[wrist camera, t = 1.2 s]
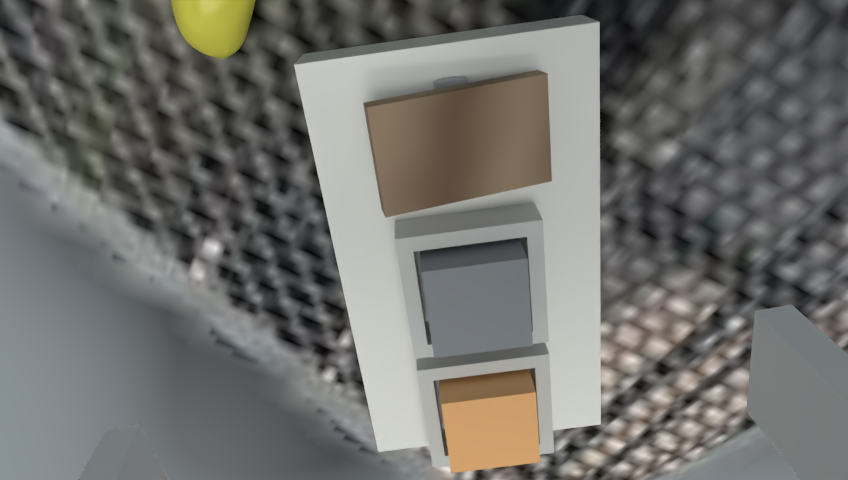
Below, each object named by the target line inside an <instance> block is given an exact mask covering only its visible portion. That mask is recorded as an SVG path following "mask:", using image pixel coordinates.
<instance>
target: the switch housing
mask: <svg viewBox="0 0 848 480" xmlns="http://www.w3.org/2000/svg"><path fill="white" fill-rule="evenodd" d="M294 67H295V72H296V76H297V81H298V86H299V90H300V95H301V99H302V104H303V108H304V113H305V118H306V122H307V127H308V131H309V136H310V141H311V145H312V150H313V154H314V159H315V163H316V168H317V173H318V177H319V182H320V186H321V191H322V195H323V200H324V205H325V209H326V214H327V218H328V223H329V228H330V232H331V237H332V241H333V246H334V250H335V255H336V260H337V264H338V269H339V273H340V278H341V282H342V287H343V292H344V296H345V301H346V305H347V310H348V315H349V319H350V324H351V328H352V333H353V337H354V342H355V347H356V351H357V356H358V360H359V365H360V369H361V374H362V379H363V383H364V388H365V392H366V397H367V401H368V406H369V411H370V415H371V420H372V424H373V429H374V434H375V438H376V443H377V447H378V452H381V451H389V450H397V449H405V448H414V447H422V446H429V447H430V453H431V459H432V465H433V468H434V467H442V466H450V460H449V453H448V447H447V440H446V434H445V427H444V420H443V414H442V407H441V398H440V387H439V380H443V379H451V378H459V377H467V376H475V375H483V374H491V373H499V372H507V371H514V370H522V369H529V371H530V374H531V378H532V381H533V384H534V388H535V391H536V402H537V418H538V435H539V451H540V454H548V453H554V441H553V430H559V429H567V428H575V427H583V426H591V425H599V424H601V360H600V22H598V21H596V20H594V19H591V18H589V17H586V16H584V15H576V16H569V17H562V18H555V19H548V20H540V21H533V22H526V23H519V24H512V25H505V26H498V27H491V28H484V29H476V30H469V31H462V32H455V33H448V34H441V35H434V36H427V37H419V38H412V39H405V40H398V41H391V42H384V43H377V44H370V45H363V46H355V47H348V48H341V49H334V50H327V51H320V52H313V53H306V54H303V55H302V56H301V57H300V58H299V59H298V61H297V62H296V63H295V64H294ZM535 70H540V71H542V72H545V73H548V96H549V121H550V146H551V171H552V181H551V182H546V183H541V184H537V185H532V186H528V187H523V188H519V189H514V190H510V191H505V192H500V193H496V194H491V195H487V196H482V197H478V198H473V199H469V200H464V201H460V202H455V203H450V204H446V205H441V206H437V207H432V208H428V209H423V210H419V211H414V212H409V213H405V214H400V215H396V216H391V217H387V218H386V217H385V215H384V213H383V211H382V209H381V203H380V197H379V191H378V186H377V180H376V174H375V169H374V163H373V157H372V151H371V146H370V140H369V134H368V128H367V123H366V117H365V111H364V105H363V103H364V102H369V101H374V100H380V99H385V98H390V97H396V96H401V95H407V94H412V93H417V92H423V91H428V90H433V89H439V88H444V87H449V86H455V85H460V84H465V83H471V82H476V81H481V80H487V79H492V78H497V77H503V76H508V75H513V74H519V73H524V72H529V71H535ZM515 238H520V241H521V243H522V246H523V248H524V251H525V253H526V256H527V258H528V274H529V290H530V306H531V322H532V338H533V346H526V347H518V348H511V349H503V350H495V351H487V352H479V353H471V354H463V355H456V356H448V357H440V358H434V354H433V347H432V341H431V334H430V327H429V321H428V314H427V308H426V301H425V294H424V288H423V281H422V274H421V262H420V251H424V250H431V249H439V248H446V247H454V246H461V245H469V244H477V243H484V242H492V241H499V240H507V239H515Z"/></svg>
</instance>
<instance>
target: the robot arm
mask: <svg viewBox="0 0 848 480" xmlns="http://www.w3.org/2000/svg"><path fill="white" fill-rule="evenodd" d="M746 411H747V412H748V414H749V415H750V416H751V417H752V419H753V420H754V421H755V423H756V424H757V425H758V426H759V428H760V429H761V430H762V431H763V433H764V434H765V435H766V437H767V438H768V439H769V440H770V442H771V443H772V444H773V445H774V447H775V448H776V449H777V451H778V452H779V453H780V454H781V456H782V457H783V458H784V459H785V461H786V462H787V463H788V465H789V466H790V467H791V468H792V470H793V471H794V472H795V473H796V475H797V476H798V477H799V479H800V480H848V354H847V353H846V352H845V351H843V350H842V349H841V348H840V347H839V346H838V345H837V344H835V343H834V342H833V341H832V340H831V339H830V338H829V337H827V336H826V335H825V334H824V333H823V332H822V331H821V330H820V329H818V328H817V327H816V326H815V325H814V324H813V323H812V322H810V321H809V320H808V319H807V318H806V317H805V316H804V315H803V314H801V313H800V312H799V311H798V310H797V309H796V308H795V307H793V306H792V305H787V306H781V307H776V308H770V309H765V310H760V311H755V319H754V330H753V341H752V352H751V363H750V375H749V386H748V397H747V408H746ZM79 480H169V479H168V477H167V475H166V473H165V471H164V469H163V467H162V465H161V463H160V461H159V459H158V457H157V455H156V453H155V451H154V449H153V447H152V445H151V443H150V441H149V439H148V437H147V435H146V433H145V431H144V429H143V427H142V425H141V424H136V425H131V426H125V427H120V428H114V429H109V430H106V431H105V432H104V434H103V436H102V437H101V439H100V441H99V443H98V445H97V447H96V448H95V450H94V452H93V454H92V456H91V458H90V459H89V461H88V463H87V465H86V467H85V469H84V471H83V472H82V474H81V476H80V478H79Z"/></svg>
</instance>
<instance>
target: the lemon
mask: <svg viewBox="0 0 848 480" xmlns="http://www.w3.org/2000/svg"><path fill="white" fill-rule="evenodd" d="M171 2H172V8H173V13H174V17H175V20H176V23H177V25H178V28H179V30H180V32H181V34H182V36H183V37H184V38H185V40H186V41H187V42H188V43H189V44H190V45H191V46H192V47H194V48H195V49H196V50H198V51H200V52H202V53H204V54H206V55H208V56H212V57H215V58H227V57H228V56H231V55H232V54H234V53H235V52H236V51H237V50H238V49H239V48H240V47H241V46H242V44H243V42H244V40H245V38H246V35H247V32H248V28H249V24H250V20H251V17H252V13H253V9H254V5H255V0H171Z"/></svg>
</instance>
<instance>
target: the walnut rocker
mask: <svg viewBox="0 0 848 480" xmlns="http://www.w3.org/2000/svg"><path fill="white" fill-rule="evenodd" d="M363 105H364V111H365V117H366V123H367V128H368V134H369V140H370V146H371V151H372V157H373V163H374V169H375V174H376V180H377V186H378V191H379V197H380V203H381V209H382V211H383V213H384V215H385V217H386V218H387V217H391V216H396V215H400V214H405V213H409V212H414V211H419V210H423V209H428V208H432V207H437V206H441V205H446V204H450V203H455V202H460V201H464V200H469V199H473V198H478V197H482V196H487V195H491V194H496V193H500V192H505V191H510V190H514V189H519V188H523V187H528V186H532V185H537V184H541V183H546V182H551V181H552V171H551V146H550V121H549V96H548V73H545V72H542V71H540V70H535V71H529V72H524V73H519V74H513V75H508V76H503V77H497V78H492V79H487V80H481V81H476V82H471V83H465V84H460V85H455V86H449V87H444V88H439V89H433V90H428V91H423V92H417V93H412V94H407V95H401V96H396V97H390V98H385V99H380V100H374V101H369V102H364V103H363Z"/></svg>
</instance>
